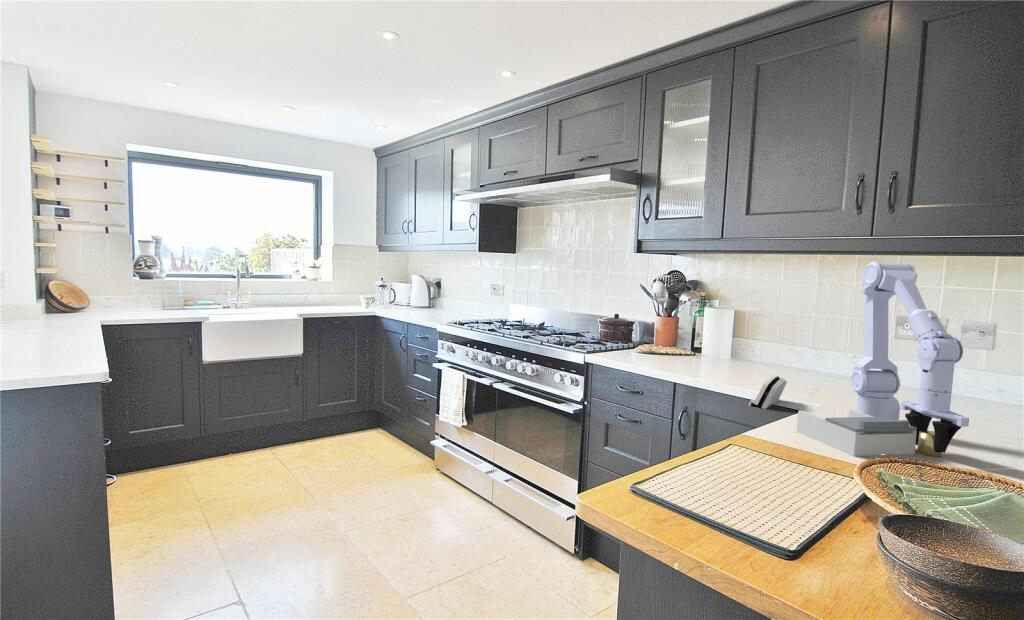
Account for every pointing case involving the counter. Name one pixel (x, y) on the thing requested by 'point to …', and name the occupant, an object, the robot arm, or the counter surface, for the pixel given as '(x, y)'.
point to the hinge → (769, 392)
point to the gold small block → (927, 444)
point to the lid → (872, 424)
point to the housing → (856, 437)
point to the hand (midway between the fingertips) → (929, 448)
